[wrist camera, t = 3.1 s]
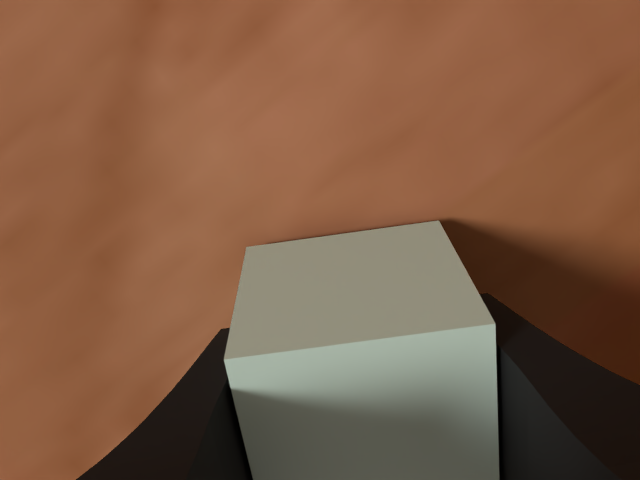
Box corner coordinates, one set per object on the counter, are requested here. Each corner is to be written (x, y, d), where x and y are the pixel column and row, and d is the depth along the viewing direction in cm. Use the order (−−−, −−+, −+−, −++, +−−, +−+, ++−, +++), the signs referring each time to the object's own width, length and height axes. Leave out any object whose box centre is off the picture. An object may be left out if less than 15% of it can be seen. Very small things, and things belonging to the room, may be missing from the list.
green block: (449, 378, 14) (500, 522, 10) (278, 401, 14) (269, 549, 11) (438, 220, 12) (495, 324, 9) (246, 247, 13) (224, 359, 9)
